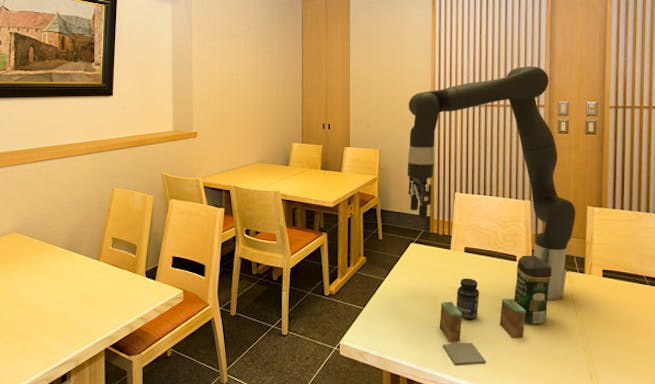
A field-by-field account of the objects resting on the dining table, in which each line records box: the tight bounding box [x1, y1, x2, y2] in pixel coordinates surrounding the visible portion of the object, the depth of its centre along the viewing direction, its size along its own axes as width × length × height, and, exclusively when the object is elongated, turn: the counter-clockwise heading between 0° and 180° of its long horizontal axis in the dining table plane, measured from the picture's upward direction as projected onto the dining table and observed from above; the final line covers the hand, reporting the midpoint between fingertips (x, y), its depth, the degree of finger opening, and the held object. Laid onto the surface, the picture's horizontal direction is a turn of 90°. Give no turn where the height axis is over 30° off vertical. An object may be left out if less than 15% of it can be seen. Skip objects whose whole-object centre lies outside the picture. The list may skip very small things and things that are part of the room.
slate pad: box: [442, 342, 487, 366], centre depth 110 cm, size 8×8×1 cm
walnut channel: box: [439, 298, 526, 343], centre depth 120 cm, size 21×7×8 cm, turn 96°
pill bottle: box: [455, 278, 480, 321], centre depth 128 cm, size 6×6×11 cm
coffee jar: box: [513, 255, 551, 325], centre depth 127 cm, size 10×8×19 cm
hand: (418, 213), depth 132 cm, fingers open, 8 cm apart
